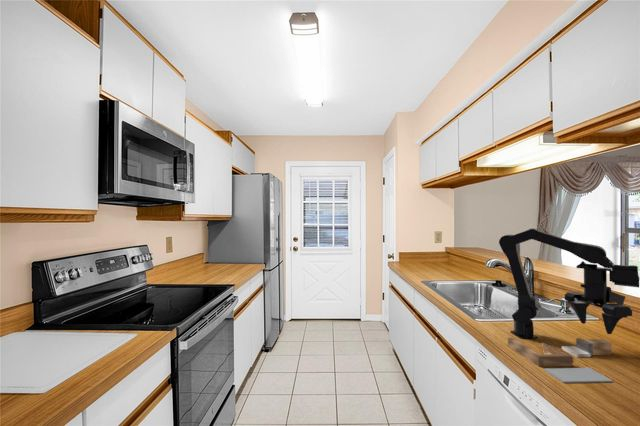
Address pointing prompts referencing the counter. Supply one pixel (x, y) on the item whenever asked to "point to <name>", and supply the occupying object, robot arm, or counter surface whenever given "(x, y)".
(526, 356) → the corner fence
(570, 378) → the mat
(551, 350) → the shard
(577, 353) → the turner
